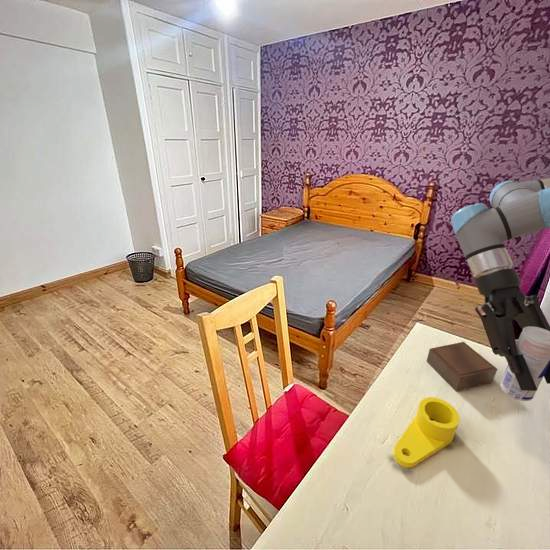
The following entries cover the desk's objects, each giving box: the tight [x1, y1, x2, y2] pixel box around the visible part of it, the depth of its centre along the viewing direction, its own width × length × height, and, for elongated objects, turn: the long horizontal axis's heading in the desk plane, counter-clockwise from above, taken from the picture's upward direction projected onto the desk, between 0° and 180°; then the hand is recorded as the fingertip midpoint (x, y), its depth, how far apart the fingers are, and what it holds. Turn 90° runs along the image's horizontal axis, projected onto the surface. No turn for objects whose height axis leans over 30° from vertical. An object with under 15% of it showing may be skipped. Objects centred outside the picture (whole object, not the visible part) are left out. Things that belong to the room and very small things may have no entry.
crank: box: [392, 396, 460, 469], centre depth 69 cm, size 18×8×6 cm, turn 125°
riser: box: [426, 341, 498, 392], centre depth 88 cm, size 12×12×5 cm
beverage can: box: [499, 326, 550, 402], centre depth 61 cm, size 6×6×15 cm
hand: (542, 386), depth 58 cm, fingers closed on beverage can, 6 cm apart
